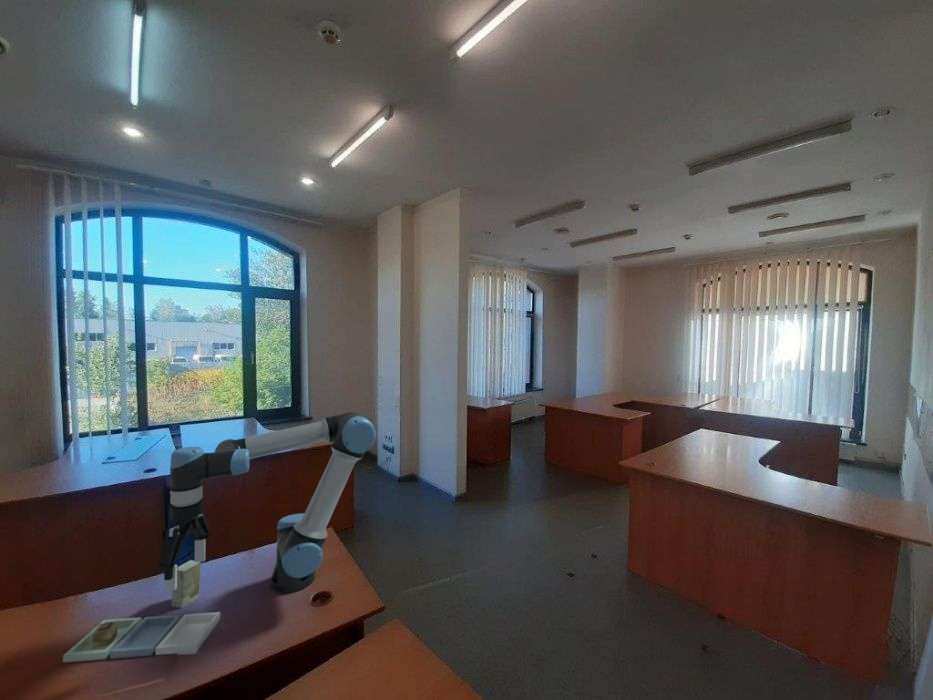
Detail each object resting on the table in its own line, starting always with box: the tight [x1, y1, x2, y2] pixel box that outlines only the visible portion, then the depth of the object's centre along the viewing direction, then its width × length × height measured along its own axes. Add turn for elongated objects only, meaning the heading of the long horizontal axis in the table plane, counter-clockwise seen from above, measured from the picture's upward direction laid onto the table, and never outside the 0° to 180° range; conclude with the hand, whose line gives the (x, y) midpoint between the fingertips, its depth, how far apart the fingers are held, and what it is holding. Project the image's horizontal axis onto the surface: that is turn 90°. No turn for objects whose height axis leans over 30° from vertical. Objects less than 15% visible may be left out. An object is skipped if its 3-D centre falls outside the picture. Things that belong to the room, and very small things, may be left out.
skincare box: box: [171, 559, 201, 609], centre depth 122 cm, size 6×4×12 cm
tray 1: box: [62, 616, 142, 663], centre depth 104 cm, size 10×13×2 cm
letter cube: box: [92, 621, 118, 649], centre depth 104 cm, size 4×4×4 cm
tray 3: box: [155, 611, 221, 656], centre depth 107 cm, size 10×13×2 cm
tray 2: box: [109, 614, 182, 660], centre depth 106 cm, size 10×13×2 cm
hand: (186, 574), depth 108 cm, fingers open, 13 cm apart
